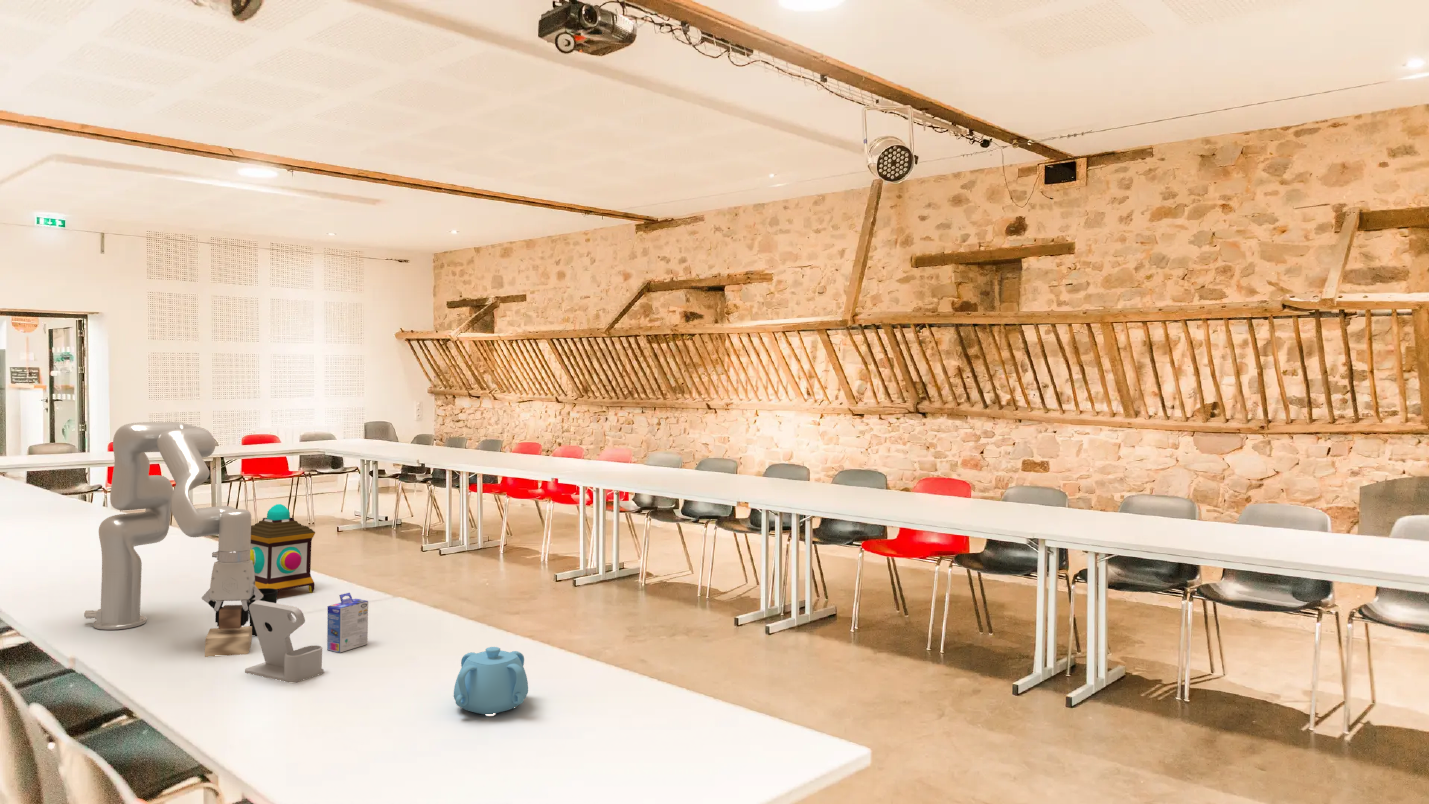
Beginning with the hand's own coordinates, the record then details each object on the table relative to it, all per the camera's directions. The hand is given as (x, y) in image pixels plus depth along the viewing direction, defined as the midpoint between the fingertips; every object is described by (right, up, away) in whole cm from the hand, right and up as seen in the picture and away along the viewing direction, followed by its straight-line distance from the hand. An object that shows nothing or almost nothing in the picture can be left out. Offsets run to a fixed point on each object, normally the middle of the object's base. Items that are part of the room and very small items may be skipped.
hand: (232, 624), depth 237 cm
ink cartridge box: (+28, -8, +6) cm, 30 cm away
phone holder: (+22, -8, -16) cm, 28 cm away
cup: (0, -7, +16) cm, 17 cm away
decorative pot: (+77, -11, -34) cm, 85 cm away
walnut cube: (0, -1, 0) cm, 1 cm away
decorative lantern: (-19, -5, +62) cm, 65 cm away
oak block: (-1, -7, 0) cm, 7 cm away
